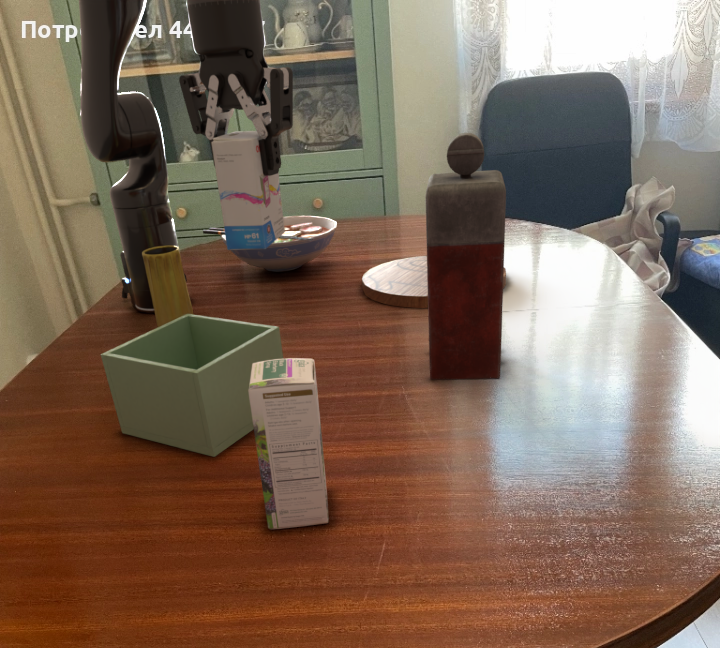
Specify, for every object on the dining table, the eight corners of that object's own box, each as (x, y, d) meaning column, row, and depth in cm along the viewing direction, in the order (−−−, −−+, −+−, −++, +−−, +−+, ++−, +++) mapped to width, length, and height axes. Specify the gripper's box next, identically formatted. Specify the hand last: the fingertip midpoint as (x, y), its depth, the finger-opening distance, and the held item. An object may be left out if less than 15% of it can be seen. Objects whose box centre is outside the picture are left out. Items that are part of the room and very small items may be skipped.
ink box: (267, 250, 83) (251, 136, 77) (226, 251, 84) (207, 139, 78) (287, 232, 90) (274, 127, 84) (249, 233, 91) (233, 129, 85)
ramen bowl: (367, 256, 147) (364, 214, 142) (300, 289, 131) (294, 243, 127) (270, 247, 159) (265, 208, 155) (198, 277, 143) (190, 234, 139)
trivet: (473, 314, 113) (473, 302, 112) (336, 299, 124) (335, 288, 123) (526, 270, 131) (526, 259, 130) (402, 260, 142) (402, 251, 141)
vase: (207, 338, 112) (189, 244, 105) (187, 353, 108) (167, 256, 100) (173, 336, 114) (153, 244, 107) (152, 351, 109) (129, 255, 102)
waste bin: (121, 433, 87) (100, 354, 81) (202, 386, 97) (187, 313, 92) (214, 457, 80) (197, 373, 75) (289, 403, 90) (279, 326, 85)
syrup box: (269, 498, 72) (247, 361, 64) (329, 491, 72) (313, 354, 64) (268, 531, 67) (244, 387, 59) (332, 524, 67) (316, 380, 60)
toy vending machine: (496, 345, 101) (503, 124, 87) (500, 378, 92) (508, 136, 77) (432, 347, 103) (428, 129, 88) (429, 379, 93) (424, 141, 79)
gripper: (301, -9, 74) (318, 169, 83) (193, 5, 80) (220, 168, 89) (257, -9, 68) (281, 181, 77) (145, 6, 75) (179, 179, 84)
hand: (248, 173), depth 83 cm, fingers closed on ink box, 6 cm apart
